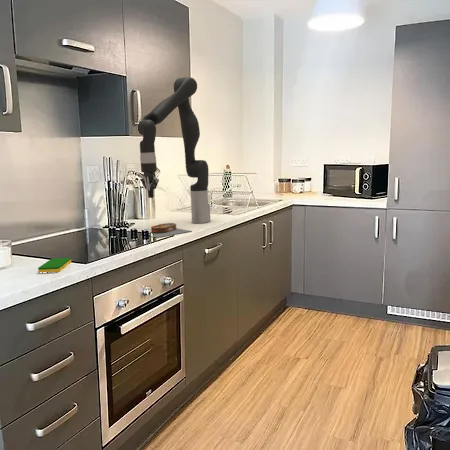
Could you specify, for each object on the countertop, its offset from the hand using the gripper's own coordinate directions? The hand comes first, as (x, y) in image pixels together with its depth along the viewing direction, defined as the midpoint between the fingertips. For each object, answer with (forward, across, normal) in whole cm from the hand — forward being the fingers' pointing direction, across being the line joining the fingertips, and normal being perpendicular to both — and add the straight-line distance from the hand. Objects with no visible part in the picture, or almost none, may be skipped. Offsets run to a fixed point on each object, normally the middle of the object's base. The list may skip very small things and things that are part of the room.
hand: (150, 197), depth 230 cm
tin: (+15, -3, 0) cm, 15 cm away
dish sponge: (+16, -36, +64) cm, 76 cm away
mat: (+16, -12, 0) cm, 20 cm away
